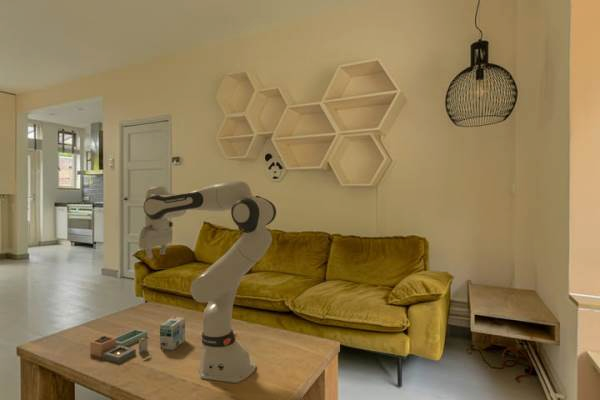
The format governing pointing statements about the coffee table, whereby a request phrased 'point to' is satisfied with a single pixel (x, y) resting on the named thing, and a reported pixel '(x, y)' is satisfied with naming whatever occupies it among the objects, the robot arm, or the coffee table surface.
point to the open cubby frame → (101, 346)
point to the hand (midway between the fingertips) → (156, 256)
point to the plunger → (118, 352)
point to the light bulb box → (172, 333)
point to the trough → (130, 337)
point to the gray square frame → (121, 357)
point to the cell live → (143, 345)
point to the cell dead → (103, 339)
